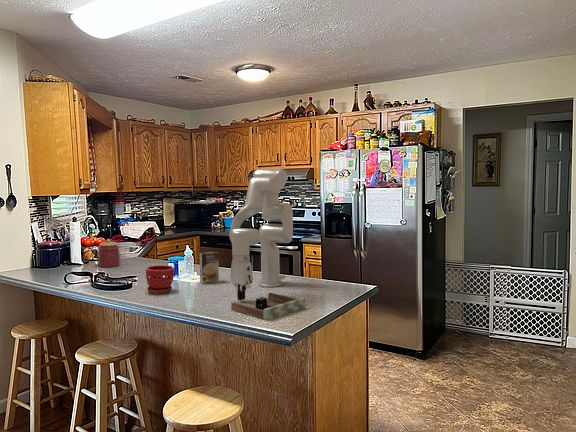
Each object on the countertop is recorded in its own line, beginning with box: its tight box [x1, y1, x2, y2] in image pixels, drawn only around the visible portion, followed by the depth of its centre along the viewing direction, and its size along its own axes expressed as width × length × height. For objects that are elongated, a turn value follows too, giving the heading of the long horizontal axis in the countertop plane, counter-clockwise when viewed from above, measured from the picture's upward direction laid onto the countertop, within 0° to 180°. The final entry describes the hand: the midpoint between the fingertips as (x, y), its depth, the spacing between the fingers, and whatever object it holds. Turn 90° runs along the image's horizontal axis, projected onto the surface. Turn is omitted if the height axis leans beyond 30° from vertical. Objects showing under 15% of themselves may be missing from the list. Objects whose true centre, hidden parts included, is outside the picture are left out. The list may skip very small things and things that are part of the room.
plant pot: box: [145, 264, 175, 294], centre depth 210 cm, size 13×13×12 cm
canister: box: [97, 238, 121, 269], centre depth 278 cm, size 13×13×18 cm
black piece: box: [253, 296, 274, 310], centre depth 181 cm, size 12×7×5 cm, turn 140°
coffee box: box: [199, 251, 220, 285], centre depth 230 cm, size 9×6×16 cm
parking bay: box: [230, 292, 306, 321], centre depth 180 cm, size 23×20×4 cm
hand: (241, 299), depth 192 cm, fingers closed
